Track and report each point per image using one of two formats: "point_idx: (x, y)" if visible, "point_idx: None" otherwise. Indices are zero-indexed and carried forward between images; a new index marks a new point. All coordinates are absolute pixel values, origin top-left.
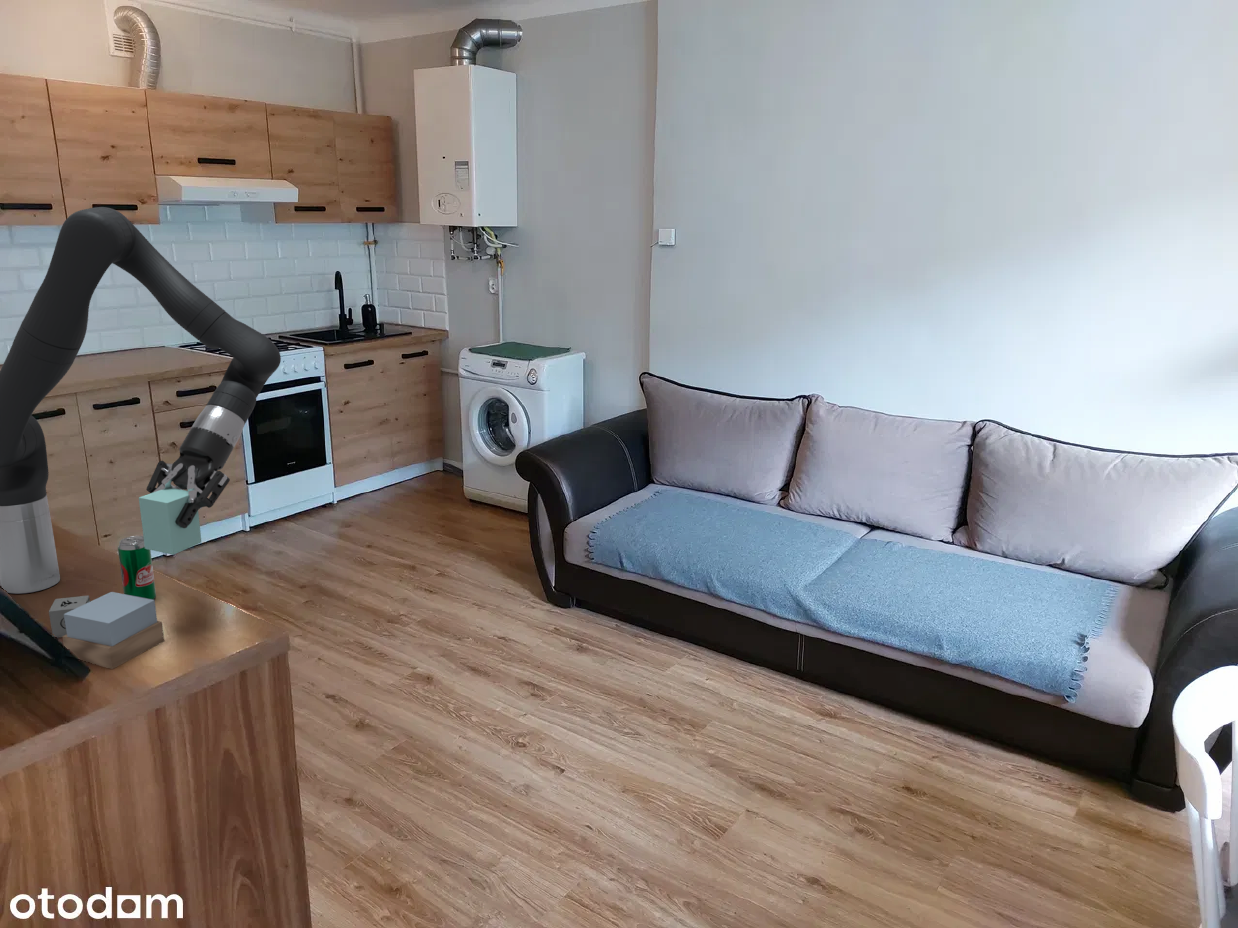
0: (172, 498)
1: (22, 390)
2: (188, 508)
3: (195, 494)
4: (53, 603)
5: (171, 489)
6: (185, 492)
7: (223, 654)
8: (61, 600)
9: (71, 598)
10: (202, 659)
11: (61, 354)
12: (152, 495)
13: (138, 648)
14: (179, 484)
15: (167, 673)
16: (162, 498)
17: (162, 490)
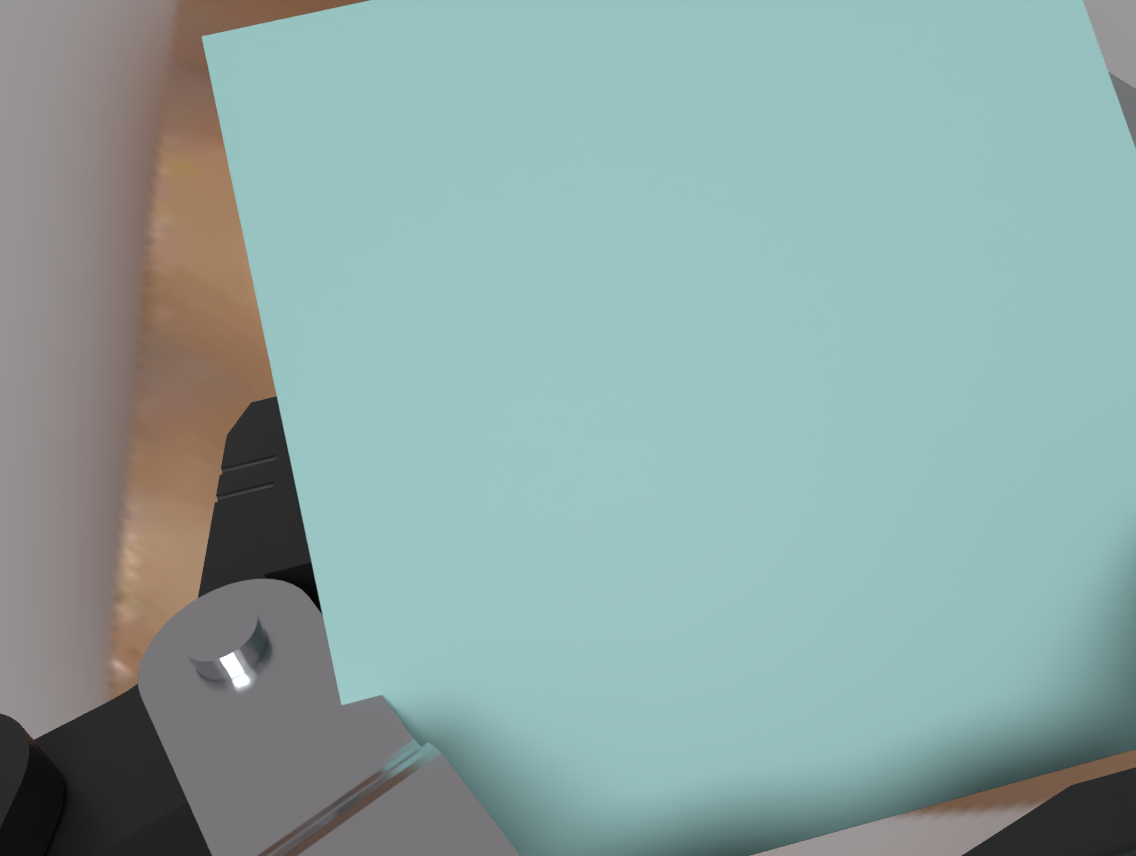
0: (404, 278)
1: None
2: (265, 548)
3: (191, 808)
4: (1117, 80)
5: (1100, 643)
6: (610, 751)
7: (158, 489)
8: (1128, 122)
9: None
10: (199, 399)
11: None
12: (963, 111)
13: None
14: (1017, 832)
15: (216, 234)
16: (582, 135)
17: None
